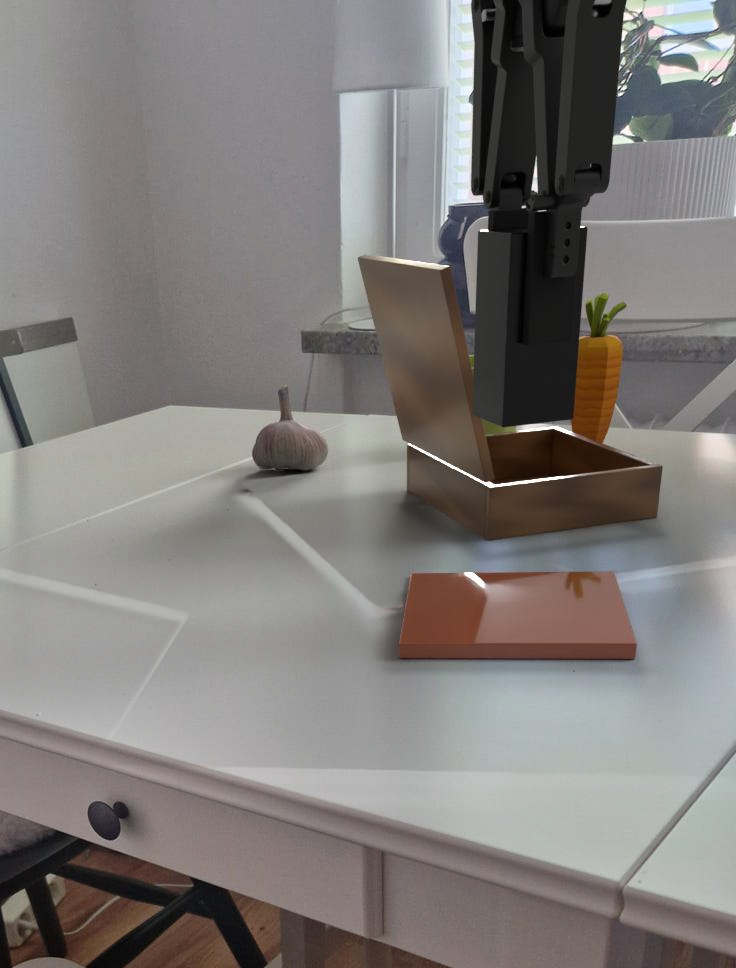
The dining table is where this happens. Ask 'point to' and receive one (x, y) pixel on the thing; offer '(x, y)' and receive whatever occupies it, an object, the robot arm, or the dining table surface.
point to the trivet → (516, 616)
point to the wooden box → (539, 485)
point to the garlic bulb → (289, 442)
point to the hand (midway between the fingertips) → (526, 336)
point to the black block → (518, 340)
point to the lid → (426, 360)
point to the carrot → (597, 372)
